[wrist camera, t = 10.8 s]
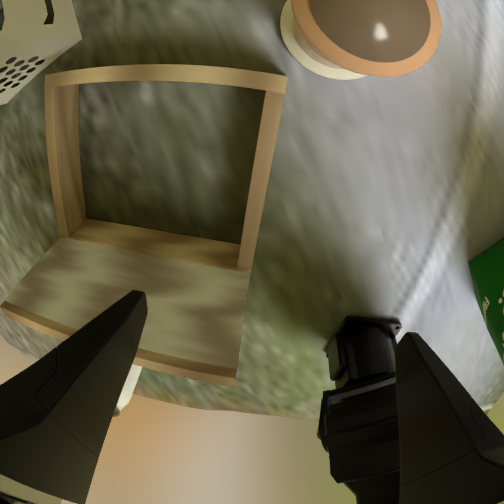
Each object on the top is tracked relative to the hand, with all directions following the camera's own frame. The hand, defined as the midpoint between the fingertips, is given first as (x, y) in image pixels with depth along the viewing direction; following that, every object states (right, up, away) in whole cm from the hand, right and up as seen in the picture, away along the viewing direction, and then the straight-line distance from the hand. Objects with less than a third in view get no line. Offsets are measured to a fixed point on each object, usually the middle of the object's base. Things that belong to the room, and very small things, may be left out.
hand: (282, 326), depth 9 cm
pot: (+4, +16, +4) cm, 17 cm away
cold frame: (-8, +9, +10) cm, 16 cm away
